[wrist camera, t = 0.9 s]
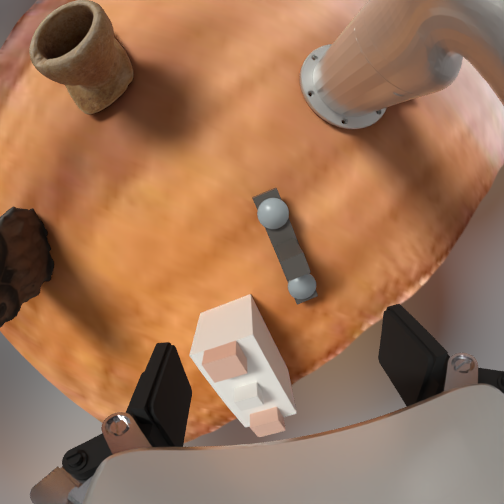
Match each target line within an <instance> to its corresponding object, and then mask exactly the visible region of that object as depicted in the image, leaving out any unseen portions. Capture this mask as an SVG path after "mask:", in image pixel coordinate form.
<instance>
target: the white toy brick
mask: <svg viewBox="0 0 504 504" xmlns="http://www.w3.org/2000/svg"><path fill="white" fill-rule="evenodd" d="M189 356H190V357H191V358H192V360H193V361H194V363H195V364H196V365H197V367H198V368H199V370H200V371H201V372H202V374H203V375H204V376H205V378H206V379H207V380H208V382H209V383H210V384H211V386H212V387H213V388H214V390H215V391H216V392H217V394H218V395H219V396H220V397H221V399H222V400H223V401H224V402H225V404H226V405H227V406H228V407H229V409H230V410H231V411H232V412H233V413H234V415H235V416H236V417H237V418H238V419H239V421H240V422H241V423H242V424H243V425H244V426H245V427H249V426H250V428H251V429H252V430H253V431H254V433H255V434H256V435H257V436H258V437H262V436H266V435H270V434H274V433H277V432H281V431H285V423H284V417H286V416H290V415H293V414H296V413H297V412H296V407H295V402H294V396H293V391H292V387H291V382H290V377H289V372H288V368H287V366H286V364H285V362H284V360H283V358H282V356H281V354H280V352H279V350H278V348H277V346H276V344H275V342H274V340H273V338H272V336H271V334H270V332H269V330H268V328H267V326H266V324H265V322H264V320H263V318H262V316H261V314H260V312H259V310H258V308H257V306H256V304H255V302H254V300H253V298H252V296H251V294H249V295H247V296H244V297H242V298H239V299H236V300H234V301H231V302H228V303H226V304H223V305H221V306H218V307H215V308H213V309H210V310H207V311H205V312H202V313H200V317H199V321H198V324H197V328H196V332H195V336H194V339H193V343H192V347H191V351H190V355H189Z"/></svg>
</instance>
